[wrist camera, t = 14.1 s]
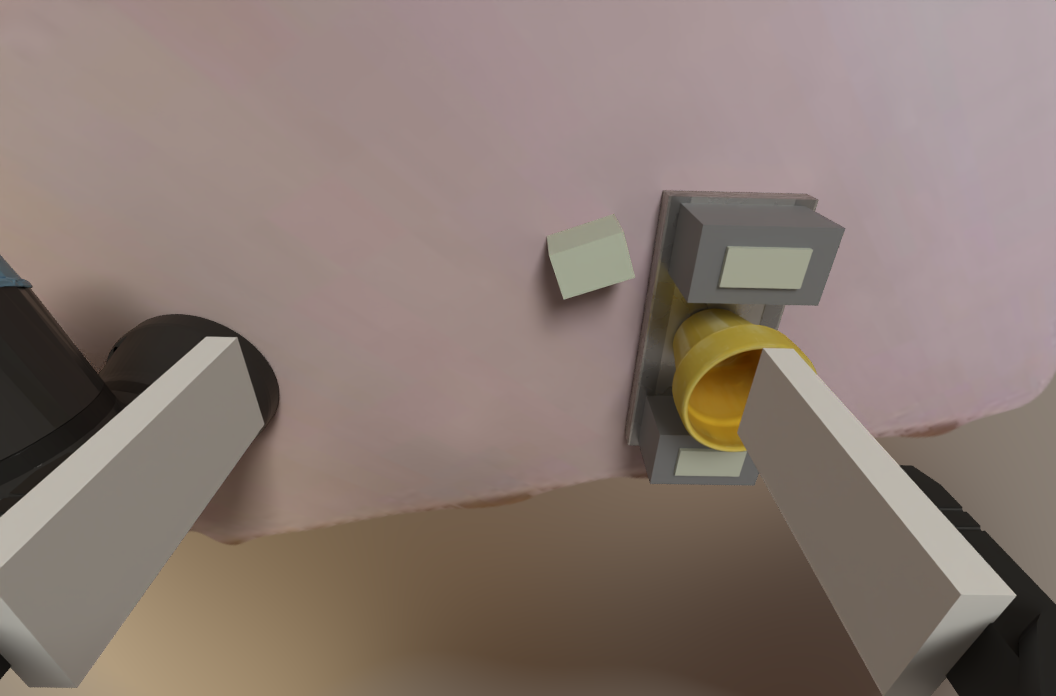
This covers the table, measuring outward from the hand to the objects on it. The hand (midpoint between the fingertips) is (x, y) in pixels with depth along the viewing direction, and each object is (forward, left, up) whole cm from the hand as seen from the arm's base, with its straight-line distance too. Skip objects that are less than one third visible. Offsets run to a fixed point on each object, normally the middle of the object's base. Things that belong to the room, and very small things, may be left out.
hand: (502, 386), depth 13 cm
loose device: (+6, -7, -32) cm, 33 cm away
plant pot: (+18, -15, -30) cm, 38 cm away
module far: (+18, -25, -30) cm, 43 cm away
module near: (+18, -5, -30) cm, 35 cm away
